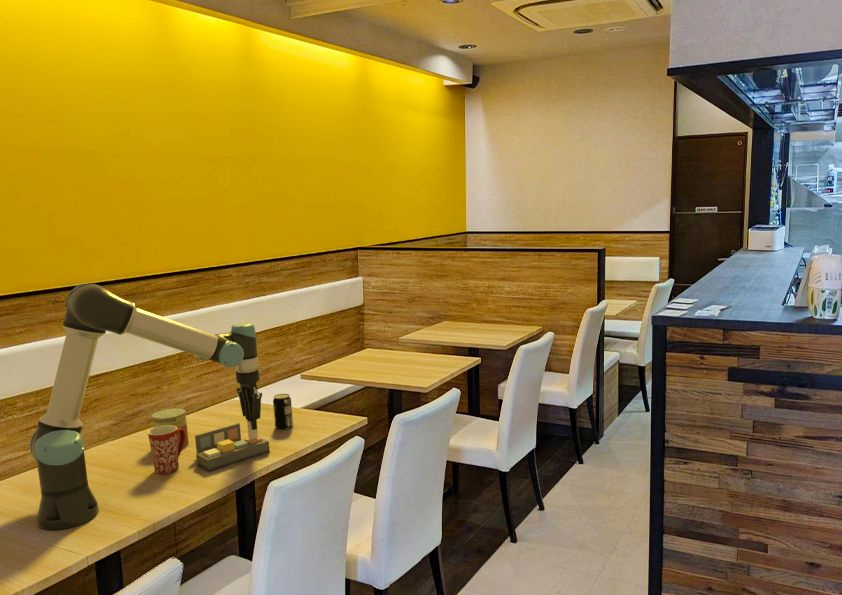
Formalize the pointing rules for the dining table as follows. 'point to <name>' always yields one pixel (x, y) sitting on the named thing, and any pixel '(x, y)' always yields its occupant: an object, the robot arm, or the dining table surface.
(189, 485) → the dining table surface
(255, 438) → the key terracotta
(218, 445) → the key mustard
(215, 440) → the placard
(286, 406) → the beverage can
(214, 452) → the key ivory
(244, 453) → the frame
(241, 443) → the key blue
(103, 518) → the dining table surface
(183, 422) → the canned food
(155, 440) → the mug
